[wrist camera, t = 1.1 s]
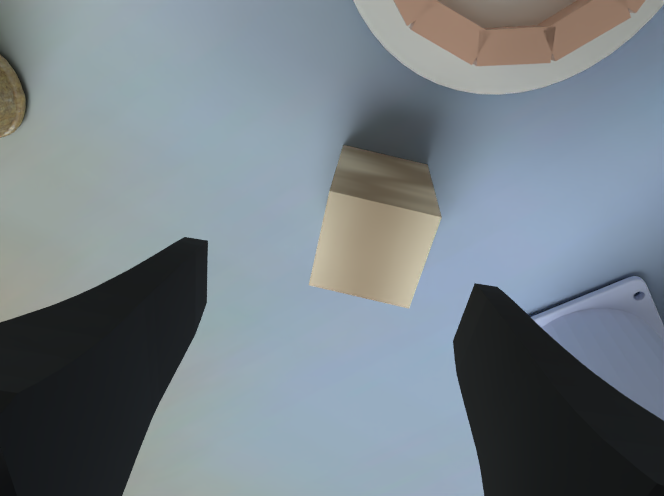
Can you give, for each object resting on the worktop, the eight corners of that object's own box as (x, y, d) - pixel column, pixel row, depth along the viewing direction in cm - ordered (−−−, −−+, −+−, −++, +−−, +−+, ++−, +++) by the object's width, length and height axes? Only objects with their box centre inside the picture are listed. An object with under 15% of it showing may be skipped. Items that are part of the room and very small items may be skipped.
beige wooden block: (427, 164, 21) (441, 217, 16) (403, 239, 23) (408, 308, 18) (343, 144, 21) (329, 190, 16) (326, 221, 23) (308, 285, 18)
